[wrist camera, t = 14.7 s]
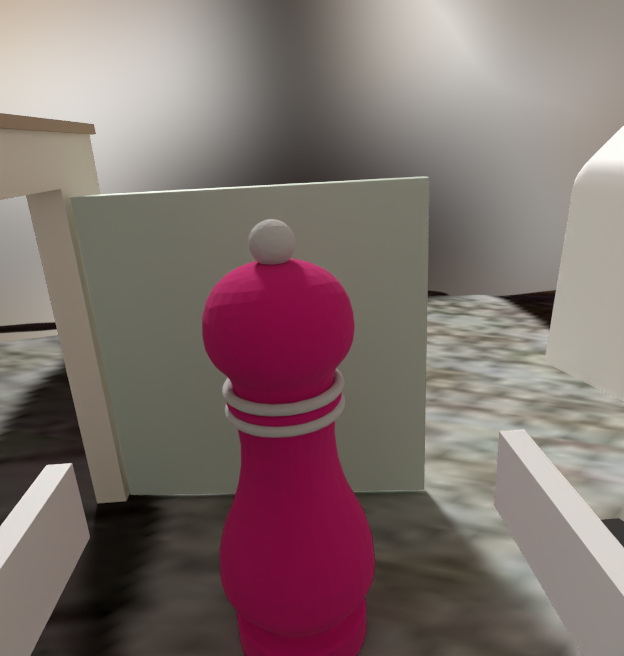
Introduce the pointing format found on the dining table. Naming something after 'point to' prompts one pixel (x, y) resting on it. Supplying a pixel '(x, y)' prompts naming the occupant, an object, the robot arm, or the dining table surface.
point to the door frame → (67, 272)
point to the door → (189, 301)
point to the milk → (593, 277)
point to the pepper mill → (288, 454)
